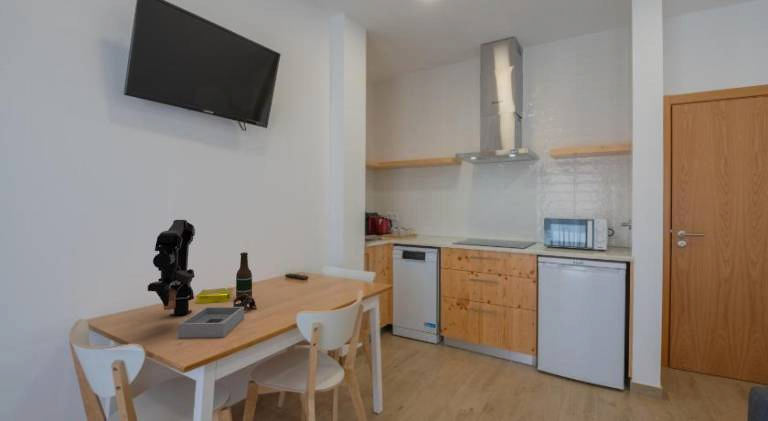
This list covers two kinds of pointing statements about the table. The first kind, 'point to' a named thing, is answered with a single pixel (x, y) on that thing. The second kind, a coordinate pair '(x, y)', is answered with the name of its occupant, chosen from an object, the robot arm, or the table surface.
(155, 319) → the table surface
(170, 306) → the peg
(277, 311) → the table surface
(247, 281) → the beer bottle
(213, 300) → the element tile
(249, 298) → the dark brown openwork arch
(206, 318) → the socket box
